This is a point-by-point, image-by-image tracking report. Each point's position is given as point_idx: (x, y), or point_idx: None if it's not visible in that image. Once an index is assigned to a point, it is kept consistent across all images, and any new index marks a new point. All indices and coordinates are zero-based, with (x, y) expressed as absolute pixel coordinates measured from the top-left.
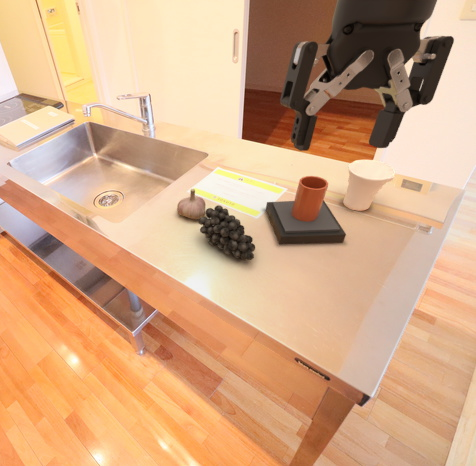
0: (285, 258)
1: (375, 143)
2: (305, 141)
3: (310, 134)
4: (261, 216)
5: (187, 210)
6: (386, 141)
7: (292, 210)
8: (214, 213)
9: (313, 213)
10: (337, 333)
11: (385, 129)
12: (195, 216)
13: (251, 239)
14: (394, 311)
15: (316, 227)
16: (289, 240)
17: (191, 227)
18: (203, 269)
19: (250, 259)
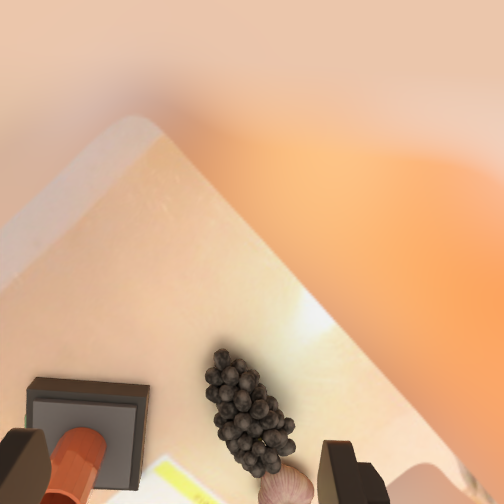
0: (151, 352)
1: (42, 458)
2: (356, 468)
3: (347, 497)
4: (155, 458)
5: (300, 482)
6: (13, 446)
7: (104, 457)
8: (272, 455)
9: (71, 441)
10: (133, 197)
11: (1, 501)
12: (284, 467)
13: (209, 391)
14: (25, 225)
15: (75, 410)
16: (131, 389)
17: None
18: (298, 344)
19: (222, 349)
